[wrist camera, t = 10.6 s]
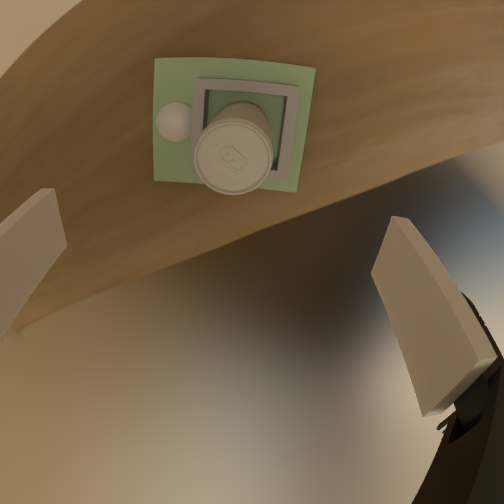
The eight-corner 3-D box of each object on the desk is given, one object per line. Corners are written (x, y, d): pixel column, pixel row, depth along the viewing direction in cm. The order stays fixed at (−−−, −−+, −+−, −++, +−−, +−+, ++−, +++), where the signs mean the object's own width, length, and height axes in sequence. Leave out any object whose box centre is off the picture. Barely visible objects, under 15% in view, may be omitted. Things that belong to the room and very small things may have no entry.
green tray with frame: (158, 175, 31) (146, 190, 28) (159, 58, 24) (145, 58, 21) (294, 187, 32) (299, 203, 29) (313, 68, 25) (320, 68, 21)
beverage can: (240, 90, 25) (228, 102, 15) (278, 123, 27) (291, 158, 17) (207, 126, 27) (175, 163, 17) (244, 158, 29) (236, 212, 19)
